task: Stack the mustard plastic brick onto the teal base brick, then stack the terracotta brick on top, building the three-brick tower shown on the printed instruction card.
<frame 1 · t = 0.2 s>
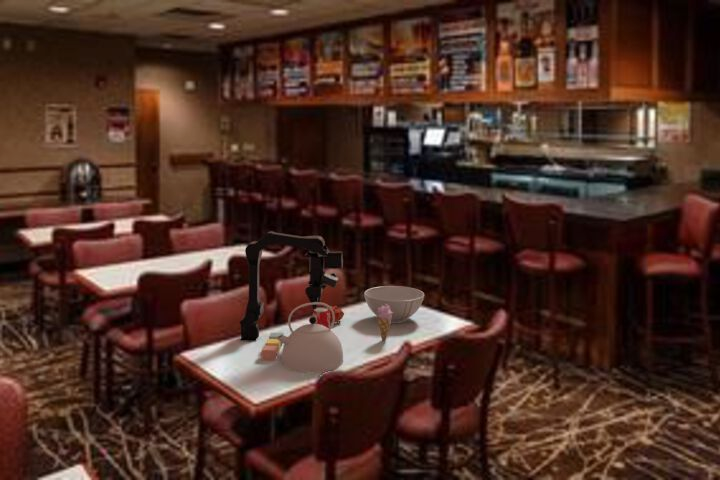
hand: (316, 306, 272), 14 cm above the table, fingers open, 9 cm apart
mustard brick: (273, 351, 262), on the table
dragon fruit: (332, 323, 299), on the table
kettle: (309, 362, 251), on the table
ice cream cone: (384, 340, 275), on the table
terracotta brick: (269, 358, 254), on the table
soda can: (321, 338, 278), on the table
decorative bowl: (393, 319, 305), on the table
teal base brick: (276, 344, 270), on the table
instruction card: (301, 345, 269), on the table
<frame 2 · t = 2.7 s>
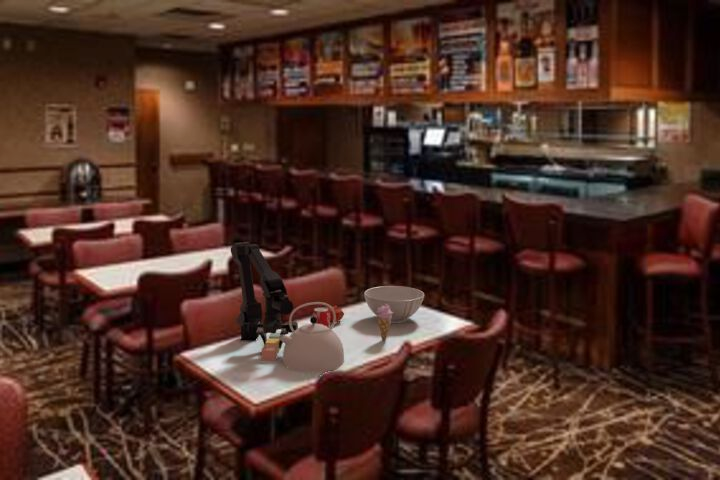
hand: (273, 348, 262), 1 cm above the table, fingers closed on mustard brick, 5 cm apart
mustard brick: (273, 350, 262), on the table, touching gripper
everything else where it was.
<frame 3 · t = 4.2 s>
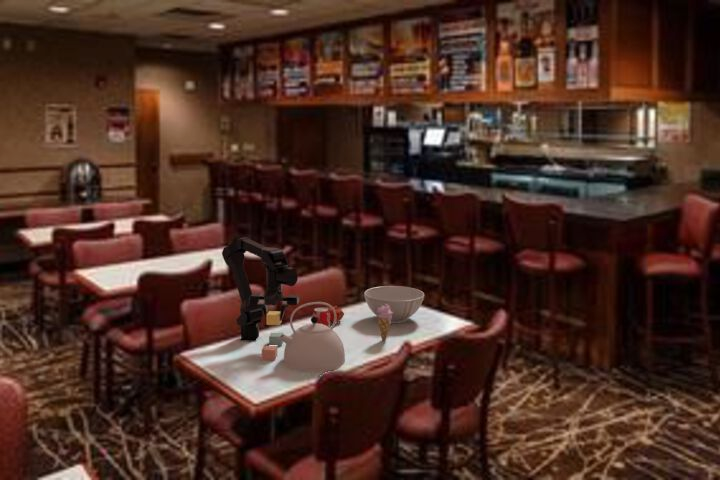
hand: (274, 320, 264), 11 cm above the table, fingers closed on mustard brick, 5 cm apart
mustard brick: (274, 323, 265), point 10 cm above the table, touching gripper
everything else where it was.
when the fingers open (6 cm above the table, at t = 5.7 s): mustard brick drops 1 cm, resting on teal base brick.
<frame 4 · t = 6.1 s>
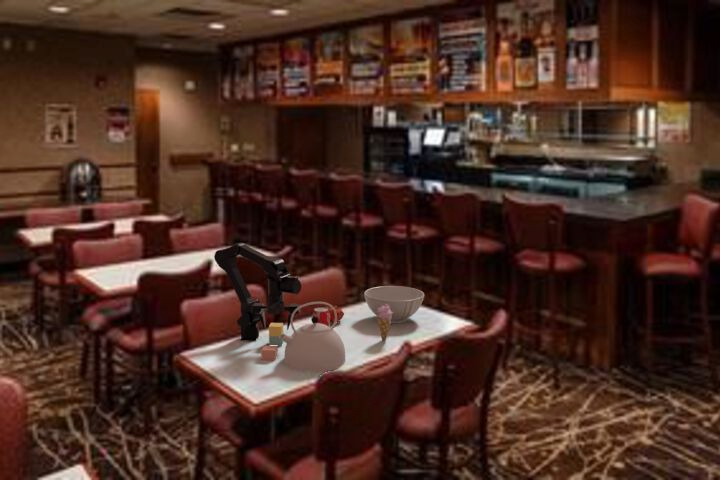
hand: (276, 329, 269), 6 cm above the table, fingers open, 9 cm apart
mustard brick: (276, 334, 269), point 4 cm above the table, touching teal base brick
teal base brick: (276, 344, 270), on the table, touching mustard brick
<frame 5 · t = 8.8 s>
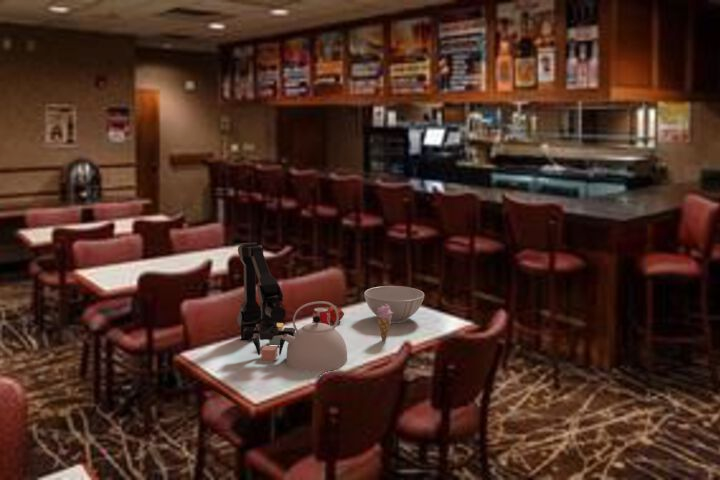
hand: (269, 355, 254), 1 cm above the table, fingers open, 7 cm apart
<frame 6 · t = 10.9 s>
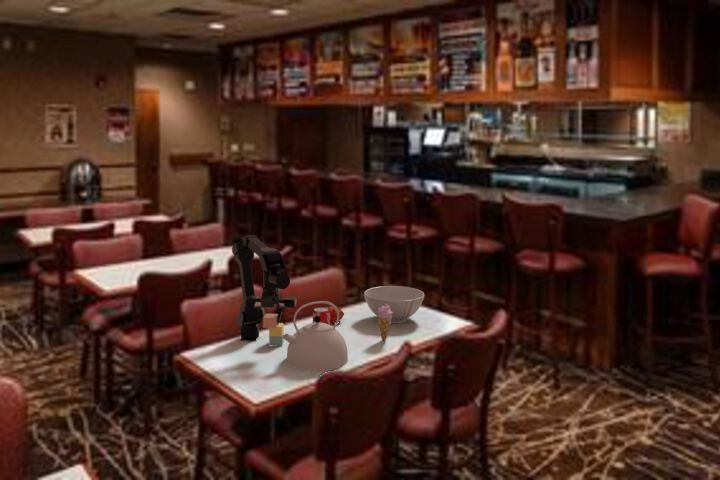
hand: (271, 323, 257), 12 cm above the table, fingers closed on terracotta brick, 5 cm apart
terracotta brick: (271, 325, 258), point 11 cm above the table, touching gripper
when the fingers open (10 cm above the table, at t = 12.4 s): terracotta brick drops 1 cm, resting on mustard brick.
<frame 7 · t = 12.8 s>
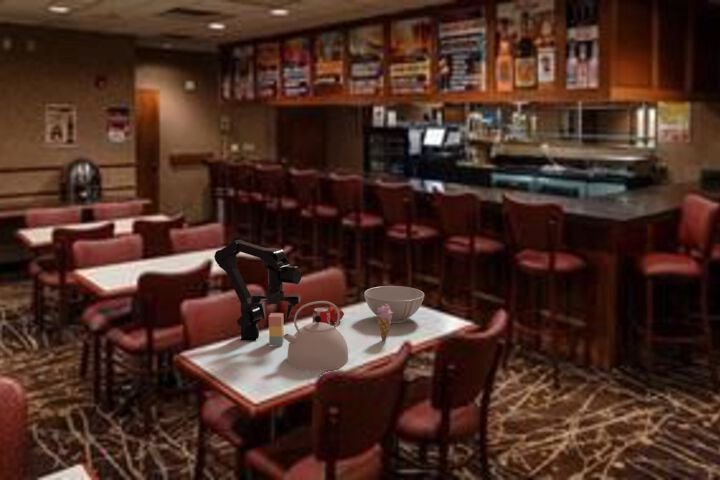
hand: (276, 319, 268), 10 cm above the table, fingers open, 9 cm apart
mustard brick: (276, 334, 269), point 4 cm above the table, touching teal base brick, terracotta brick
terracotta brick: (276, 324, 268), point 8 cm above the table, touching mustard brick
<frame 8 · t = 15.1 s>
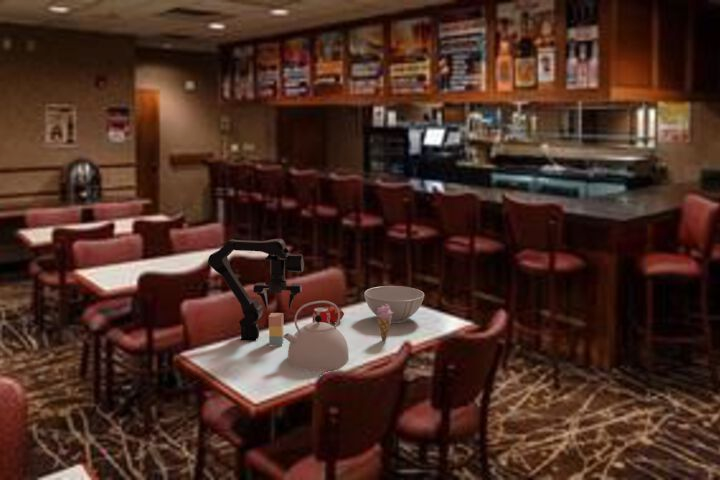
hand: (278, 308, 273), 13 cm above the table, fingers open, 9 cm apart
at the end: mustard brick 0.1 cm off-centre on the teal base brick, point 4.0 cm above the teal base brick's base; terracotta brick 0.1 cm off-centre on the teal base brick, point 8.0 cm above the teal base brick's base; terracotta brick tilted 0° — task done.
